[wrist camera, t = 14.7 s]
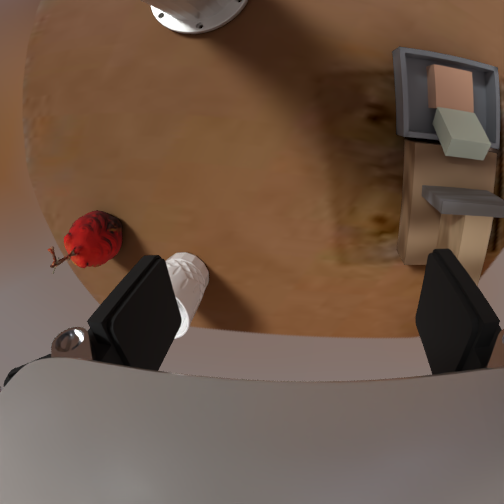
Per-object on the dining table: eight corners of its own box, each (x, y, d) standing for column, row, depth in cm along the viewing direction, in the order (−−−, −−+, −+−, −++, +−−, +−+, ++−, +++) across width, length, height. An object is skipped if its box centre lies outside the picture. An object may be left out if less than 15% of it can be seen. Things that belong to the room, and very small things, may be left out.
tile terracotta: (436, 108, 26) (428, 107, 28) (473, 114, 25) (464, 113, 27) (433, 64, 24) (426, 66, 26) (471, 72, 23) (462, 73, 25)
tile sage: (432, 123, 28) (437, 106, 26) (468, 128, 27) (474, 113, 25) (445, 155, 26) (451, 138, 24) (483, 160, 25) (491, 144, 23)
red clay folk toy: (83, 219, 44) (17, 263, 30) (108, 196, 41) (36, 238, 28) (110, 258, 46) (51, 311, 33) (137, 238, 43) (75, 293, 30)
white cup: (224, 275, 43) (202, 319, 34) (192, 304, 46) (167, 348, 38) (181, 236, 42) (148, 273, 33) (153, 270, 45) (120, 308, 36)
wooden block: (404, 139, 31) (414, 143, 27) (481, 148, 29) (497, 153, 25) (396, 249, 37) (404, 264, 33) (467, 251, 35) (479, 264, 31)
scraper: (422, 185, 29) (442, 201, 24) (487, 190, 27) (514, 207, 22) (407, 291, 35) (419, 321, 29) (467, 289, 33) (485, 317, 28)
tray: (392, 51, 27) (399, 46, 24) (485, 69, 24) (497, 67, 21) (396, 134, 31) (403, 136, 28) (487, 145, 28) (499, 149, 26)
